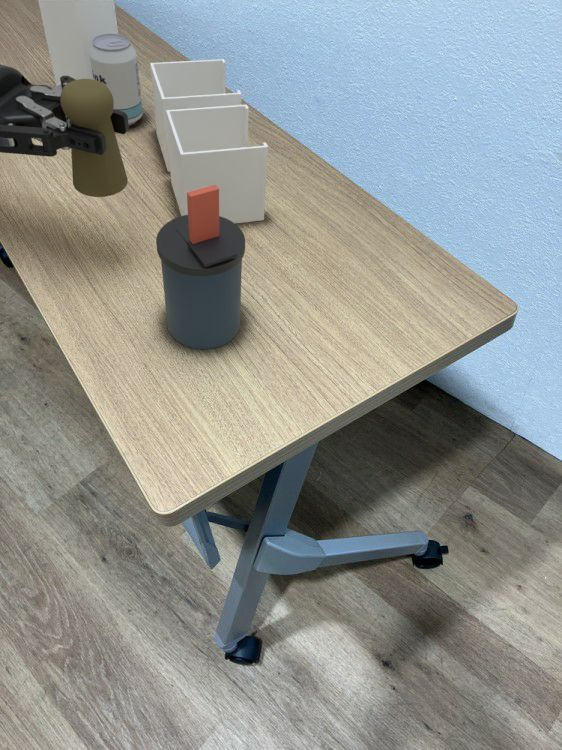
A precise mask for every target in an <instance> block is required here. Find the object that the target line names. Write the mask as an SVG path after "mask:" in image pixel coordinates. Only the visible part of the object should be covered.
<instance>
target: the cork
mask: <svg viewBox="0 0 562 750" xmlns="http://www.w3.org/2000/svg"><path fill="white" fill-rule="evenodd" d="M60 102H61V106H62V109H63V111H64V113H65V115H66V117H68V118H69V119H70V126H71V125H72V124H74V125H77V126H80V127H85V128H88V129H92V130H96V131H99V132H102V133H103V134H104V136H105V140H106V146H107V151H106V152H105V153H103V154H102V155H99V154H95V153H89V152H86V151H82V150H78V149H74V148H71V149H70V152H71V171H72V185H73V187H74V189H75V191H77V192H78V193H80V194H82V195H84V196H87V197H93V198H105V197H106V198H107V197H110V196H115V195H117V194H118V193H121V192H122V191H123V190H124V189H125V188H126V187H127V186H128V176H127V171H126V168H125V164H124V161H123V158H122V153H121V150H120V146H119V144H118V139H117V137H116V132H114V128H113V125H112V121H111V118H110V116H111V115H112V113H113V107H114V101H113V96H112V94H111V92H110V90H109V89H108V87H107V86H106V85H105V84H103V83H102V82H100V81H97V80H93V79H77V80H74V81H71V82H70V83H68V84H66V85H65V86H64V87H63V89H62V92H61V99H60Z"/></svg>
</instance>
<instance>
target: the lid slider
mask: <svg viewBox="0 0 562 750" xmlns="http://www.w3.org/2000/svg"><path fill="white" fill-rule="evenodd" d="M187 206H188V225H189V240H188V241H187V245H188V246H189V248H190V249H191V250H192V252H193V253H194V254H195V256H196V257H197V258H198V260H199V261H200V262H201V263H202V265H203V266H204V267H207V266H210V265H214V264H217V263H220V262H223V261H226V260H229V259H232V258H235V257H237V253H236V252H235V251H234V249H233V248H232V247H231V246H230V245H229V243H228V242H227V241H226V240H225V239H224V237H223V236H222V235H221V234H220V233H219V188H218V187H217V186H216V185H212V186H209V187H205V188H201V189H197V190H194V191H190V192H187Z"/></svg>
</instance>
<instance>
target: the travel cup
mask: <svg viewBox="0 0 562 750" xmlns="http://www.w3.org/2000/svg"><path fill="white" fill-rule="evenodd" d="M219 233H220V234H221V235H222V236H223V237H224V239H225V240H226V241H227V242H228V243H229V245H230V246H231V247H232V248H233V249H234V251H235V252H236V253H237V257H235V258H232V259H229V260H226V261H223V262H220V263H217V264H214V265H210V266H207V267H204V266H203V265H202V263H201V262H200V261H199V260H198V258H197V257H196V256H195V254H194V253H193V252H192V250H191V249H190V248H189V246H188V245H187V241H188V240H189V225H188V215H184V216H181V215H180V216H178V217H175V218H173V219H170V220H169V221H167V222H166V223H165V224H163V226H162V227H160V229H159V231H158V233H157V235H156V240H155V245H156V252H157V255H158V257H159V259H160V263H161V275H162V283H163V292H164V293H163V294H164V303H165V304H164V305H165V313H166V323H167V329H168V332H169V334H170V335H171V337H172V338H173V339H174V340H175V341H176V342H178V344H181V345H182V346H185V347H188V348H191V349H196V350H210V349H216V348H219V347H222V346H224V345H227V344H228V343H229V342H231V341H232V340H233V339H234V338H235V337H236V335H237V334H238V333H239V331H240V327H241V303H242V269H243V268H242V267H243V265H242V264H243V258H244V256H245V254H246V253H245V252H246V251H245V250H246V237H245V234H244V232H243V231H242V229H241V228H240V227H239V226H238V225H237V223H233V222H232V221H230V220H228V219H226V218H223V217H221V216H219Z"/></svg>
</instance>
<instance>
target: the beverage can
mask: <svg viewBox="0 0 562 750" xmlns="http://www.w3.org/2000/svg"><path fill="white" fill-rule="evenodd" d="M131 41H132V40H131V39H130V38H129V37H127V36H126V35H123V34H119V33H118V34H103V35H99V36H97V37H95V38H94V39H93V40H92V47H91V50H90V53H89V56H90V62H91V68H92V74H93V80H97V81H100V82H102V83H103V84H105V85H106V86H107V87H108V89H109V90H110V92H111V94H112V96H113V101H114V107H113V109H116V110H119V111H122V112H125V113H126V114H127V116H128V124H129V127H131V126H132V125H134V124H135V123H137V121H139V120H140V119H141V118H142V117H143V114H144V113H143V112H144V111H143V101H142V92H141V83H140V72H139V64H138V63H139V62H138V54H137V51H136V49H135V48H134V46H133V44H132V42H131Z"/></svg>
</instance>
